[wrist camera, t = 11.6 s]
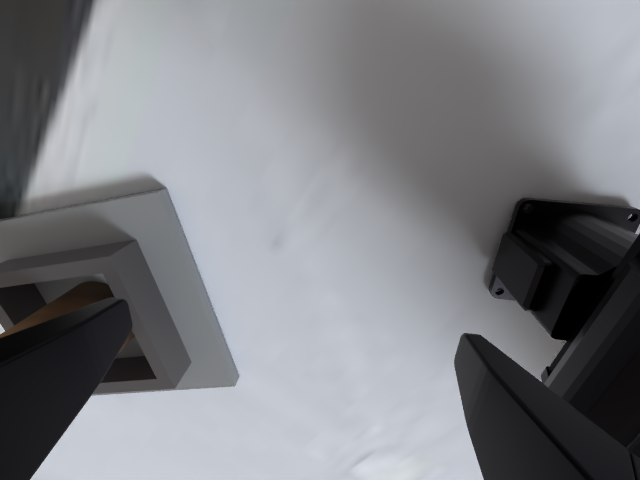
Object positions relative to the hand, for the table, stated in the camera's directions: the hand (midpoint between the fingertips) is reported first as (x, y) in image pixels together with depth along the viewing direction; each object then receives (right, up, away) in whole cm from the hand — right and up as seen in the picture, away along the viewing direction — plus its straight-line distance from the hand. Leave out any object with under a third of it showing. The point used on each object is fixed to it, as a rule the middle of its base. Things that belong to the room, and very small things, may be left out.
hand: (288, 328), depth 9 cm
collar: (-15, -3, +16) cm, 22 cm away
